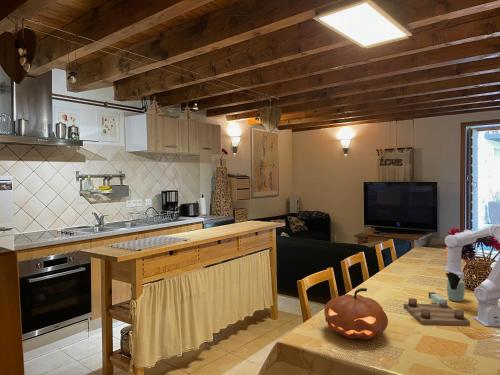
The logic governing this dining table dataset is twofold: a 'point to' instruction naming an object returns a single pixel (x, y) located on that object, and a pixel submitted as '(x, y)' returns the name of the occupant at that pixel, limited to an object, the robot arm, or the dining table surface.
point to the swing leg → (437, 299)
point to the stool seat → (435, 314)
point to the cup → (456, 291)
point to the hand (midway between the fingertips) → (453, 289)
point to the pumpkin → (355, 316)
